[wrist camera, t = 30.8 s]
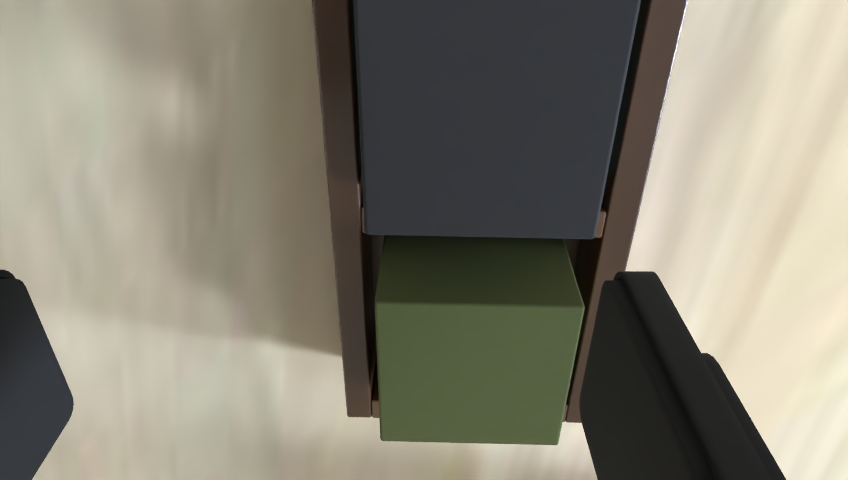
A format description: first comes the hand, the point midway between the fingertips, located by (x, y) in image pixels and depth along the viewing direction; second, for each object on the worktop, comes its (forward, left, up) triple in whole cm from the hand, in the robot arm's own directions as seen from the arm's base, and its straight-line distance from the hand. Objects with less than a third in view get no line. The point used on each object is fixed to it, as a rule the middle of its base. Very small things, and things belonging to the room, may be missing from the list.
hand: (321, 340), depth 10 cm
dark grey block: (+3, +2, -8) cm, 8 cm away
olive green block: (+3, -5, -8) cm, 9 cm away
